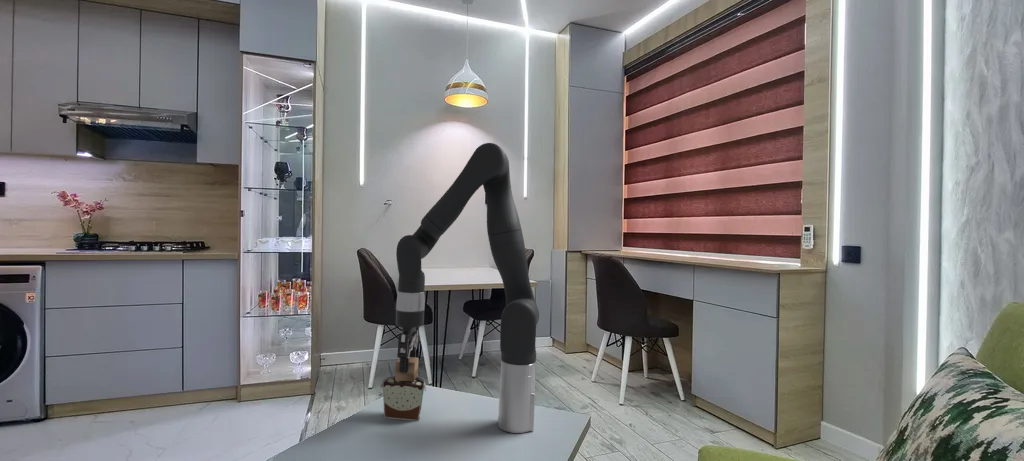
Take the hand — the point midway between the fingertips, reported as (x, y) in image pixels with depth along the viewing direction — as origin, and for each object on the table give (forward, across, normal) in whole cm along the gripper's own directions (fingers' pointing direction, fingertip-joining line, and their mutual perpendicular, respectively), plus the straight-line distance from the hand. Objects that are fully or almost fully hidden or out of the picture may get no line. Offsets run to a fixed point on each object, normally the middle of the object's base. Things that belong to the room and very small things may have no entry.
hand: (407, 367), depth 123 cm
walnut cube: (+3, 0, 0) cm, 3 cm away
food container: (+13, 0, 0) cm, 13 cm away
